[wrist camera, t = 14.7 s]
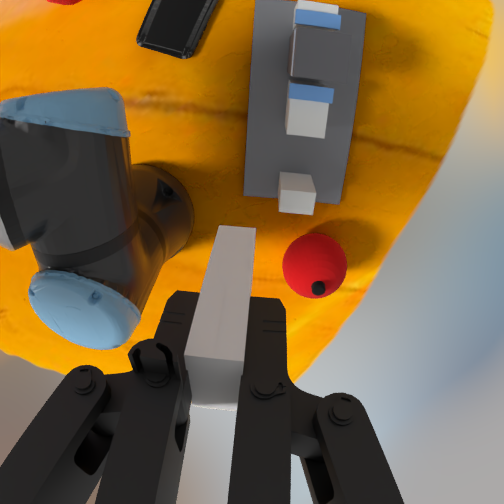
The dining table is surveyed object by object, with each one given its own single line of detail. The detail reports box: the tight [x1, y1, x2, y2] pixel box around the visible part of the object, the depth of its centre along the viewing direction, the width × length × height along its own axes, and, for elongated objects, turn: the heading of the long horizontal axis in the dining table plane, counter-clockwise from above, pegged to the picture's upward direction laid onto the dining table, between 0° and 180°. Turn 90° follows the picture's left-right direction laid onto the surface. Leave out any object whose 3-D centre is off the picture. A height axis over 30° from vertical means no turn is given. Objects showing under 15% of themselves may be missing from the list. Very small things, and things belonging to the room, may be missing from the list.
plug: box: [287, 27, 352, 84], centre depth 27 cm, size 5×5×12 cm
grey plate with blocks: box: [243, 0, 366, 215], centre depth 33 cm, size 13×26×8 cm, turn 177°
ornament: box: [282, 233, 347, 298], centre depth 44 cm, size 9×9×10 cm
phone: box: [136, 0, 218, 59], centre depth 29 cm, size 8×1×15 cm
